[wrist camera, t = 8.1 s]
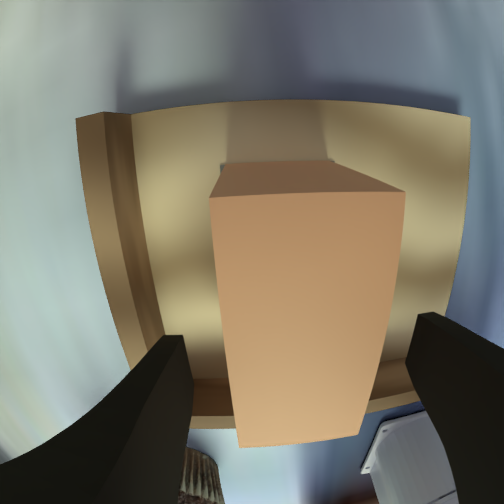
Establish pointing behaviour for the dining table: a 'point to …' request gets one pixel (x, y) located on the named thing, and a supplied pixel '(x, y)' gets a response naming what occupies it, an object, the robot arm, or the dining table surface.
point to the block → (303, 294)
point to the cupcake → (199, 480)
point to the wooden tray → (199, 221)
